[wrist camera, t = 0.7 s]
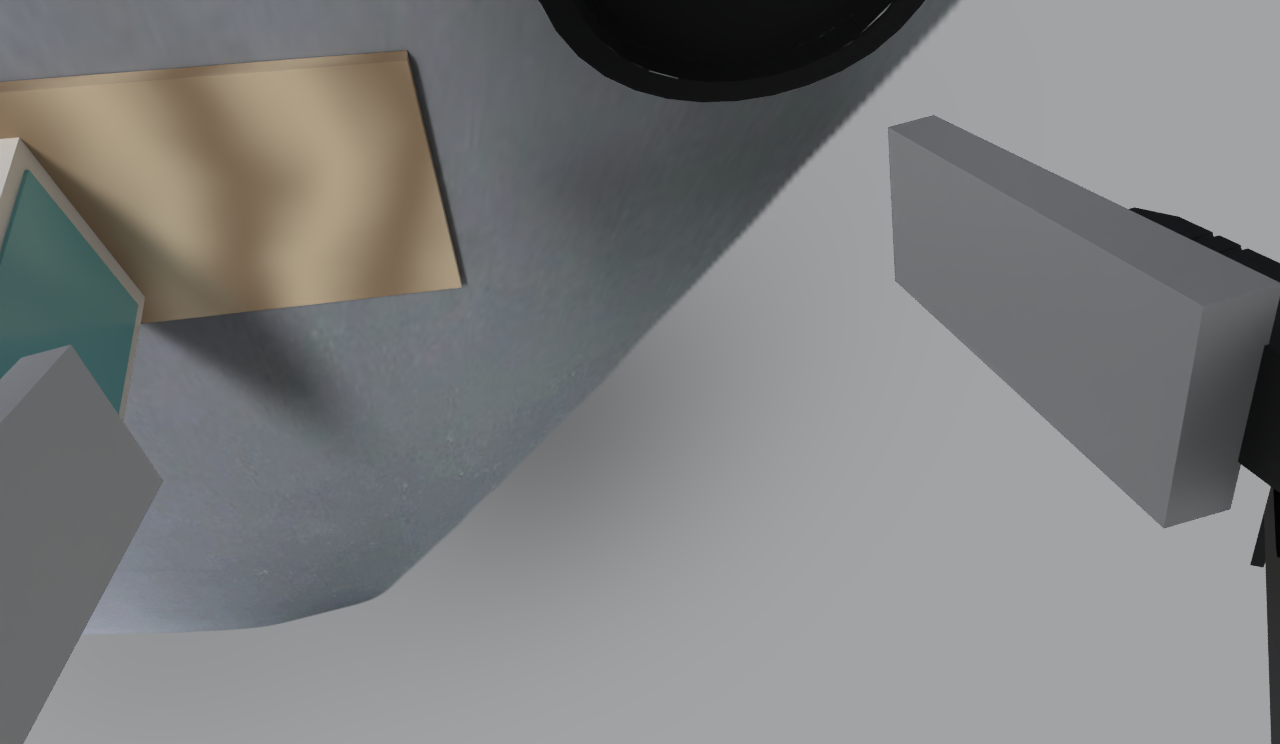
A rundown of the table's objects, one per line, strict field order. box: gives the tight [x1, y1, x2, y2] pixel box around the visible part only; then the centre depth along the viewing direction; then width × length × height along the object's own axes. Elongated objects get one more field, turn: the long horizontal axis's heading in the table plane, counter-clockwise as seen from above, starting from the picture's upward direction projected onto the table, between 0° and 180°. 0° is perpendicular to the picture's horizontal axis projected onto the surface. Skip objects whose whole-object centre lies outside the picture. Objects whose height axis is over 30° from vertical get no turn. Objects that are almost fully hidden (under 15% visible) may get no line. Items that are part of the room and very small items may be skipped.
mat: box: [0, 50, 462, 324], centre depth 36 cm, size 18×14×1 cm
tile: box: [0, 137, 145, 421], centre depth 31 cm, size 2×10×14 cm, turn 178°
